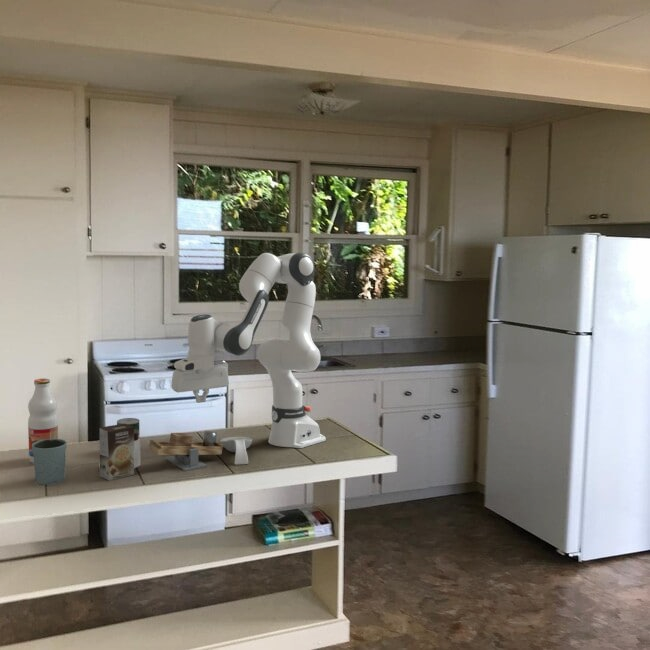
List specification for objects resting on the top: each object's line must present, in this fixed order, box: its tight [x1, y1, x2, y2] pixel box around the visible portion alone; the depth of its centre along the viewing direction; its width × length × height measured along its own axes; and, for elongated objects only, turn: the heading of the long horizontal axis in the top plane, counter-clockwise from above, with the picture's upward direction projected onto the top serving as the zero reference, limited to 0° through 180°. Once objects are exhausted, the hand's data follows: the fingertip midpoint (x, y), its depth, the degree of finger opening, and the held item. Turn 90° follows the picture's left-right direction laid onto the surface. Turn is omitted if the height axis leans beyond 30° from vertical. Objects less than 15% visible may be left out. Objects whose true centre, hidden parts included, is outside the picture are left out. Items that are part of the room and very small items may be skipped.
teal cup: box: [32, 438, 67, 486], centre depth 223 cm, size 10×10×12 cm
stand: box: [166, 448, 207, 472], centre depth 243 cm, size 8×14×6 cm, turn 37°
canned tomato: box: [116, 417, 141, 440], centre depth 255 cm, size 8×8×11 cm
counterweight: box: [202, 430, 218, 446], centre depth 248 cm, size 4×4×5 cm
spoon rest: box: [219, 436, 253, 466], centre depth 254 cm, size 24×12×7 cm, turn 14°
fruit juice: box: [27, 378, 59, 464], centre depth 241 cm, size 9×9×28 cm
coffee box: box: [99, 424, 135, 481], centre depth 229 cm, size 9×6×16 cm
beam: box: [148, 439, 224, 456], centre depth 243 cm, size 24×9×3 cm, turn 128°
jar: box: [134, 429, 141, 469], centre depth 238 cm, size 9×8×12 cm
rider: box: [168, 432, 194, 446], centre depth 241 cm, size 6×5×4 cm
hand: (200, 402), depth 244 cm, fingers closed
